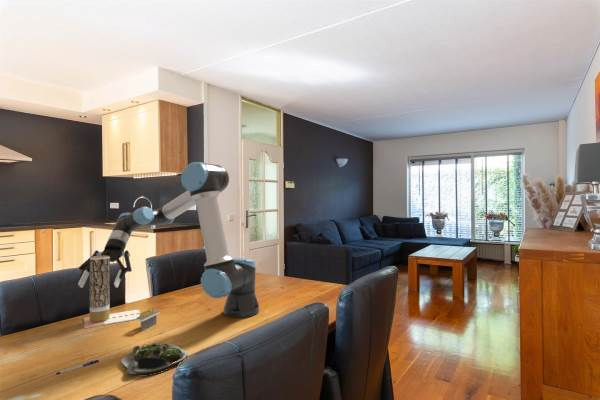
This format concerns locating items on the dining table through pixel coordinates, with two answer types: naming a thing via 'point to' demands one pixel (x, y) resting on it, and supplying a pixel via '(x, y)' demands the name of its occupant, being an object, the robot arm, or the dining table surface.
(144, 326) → the platform
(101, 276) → the bark-patterned cylinder
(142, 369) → the salad plate
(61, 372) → the ballpoint pen
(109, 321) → the ticket board
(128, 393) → the dining table surface
